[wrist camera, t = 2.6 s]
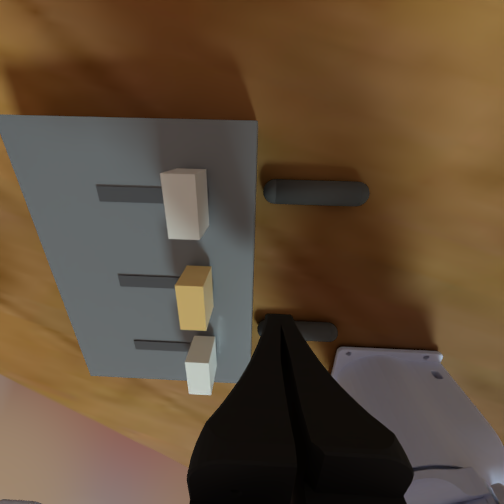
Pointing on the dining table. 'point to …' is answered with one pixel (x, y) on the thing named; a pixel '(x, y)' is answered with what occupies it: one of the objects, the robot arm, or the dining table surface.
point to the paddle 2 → (201, 365)
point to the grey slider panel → (140, 233)
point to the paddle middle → (195, 297)
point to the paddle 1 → (185, 203)
